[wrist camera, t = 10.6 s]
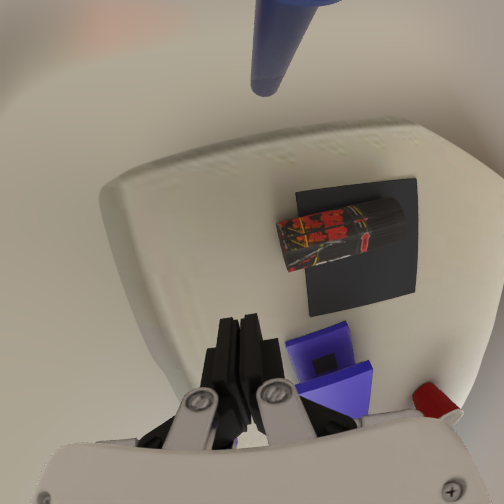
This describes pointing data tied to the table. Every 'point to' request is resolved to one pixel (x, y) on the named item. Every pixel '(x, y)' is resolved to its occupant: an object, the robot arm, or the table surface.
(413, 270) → the mat
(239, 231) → the table surface
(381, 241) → the deodorant
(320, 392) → the stapler
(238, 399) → the robot arm
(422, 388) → the plastic cup
